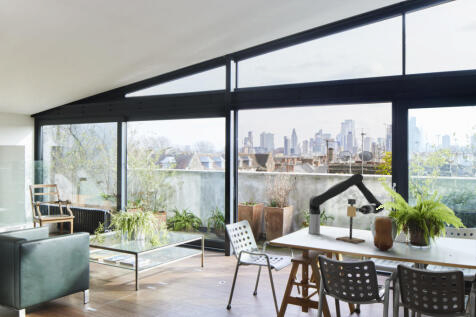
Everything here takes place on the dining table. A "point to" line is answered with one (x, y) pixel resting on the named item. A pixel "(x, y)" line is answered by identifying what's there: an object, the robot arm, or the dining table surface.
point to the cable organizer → (401, 237)
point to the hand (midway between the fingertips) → (356, 210)
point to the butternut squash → (383, 233)
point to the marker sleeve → (351, 211)
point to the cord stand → (350, 238)
